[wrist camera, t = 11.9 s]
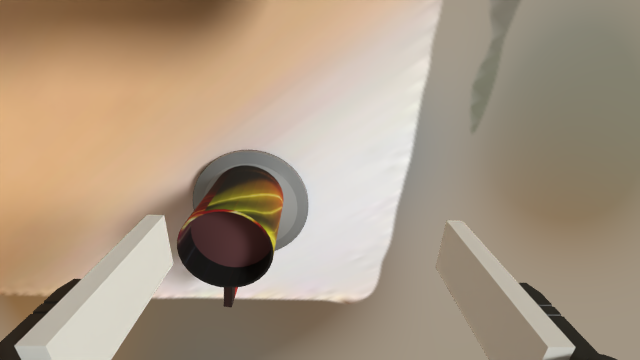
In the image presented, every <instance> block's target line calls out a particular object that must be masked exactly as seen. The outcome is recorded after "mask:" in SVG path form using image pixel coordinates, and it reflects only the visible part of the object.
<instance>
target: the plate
mask: <svg viewBox="0 0 640 360" xmlns="http://www.w3.org/2000/svg"><path fill="white" fill-rule="evenodd" d="M241 165H250V166H256V167H259V168H261V169H264V170H265V171H267V172H269V173H270V174H271V175H272V176H274V177H275V179H276V180H277V181H278V182H279V184H280V186H281V188H282V192H283V199H284V201H283V207H282V212H281V218H280V223H279V228H278V234H277V239H276V244H275V250H278V249H280V248H282V247H284V246H286V245H287V244H289V243H290V242H292V241H293V240H294V239H295V238H296V237H297V236H298V234H299V233H300V232H301V230H302V228H303V227H304V224H305V222H306V219H307V215H308V196H307V191H306V188H305V185H304V183H303V181H302V179H301V178H300V176H299V175H298V173H297V172H296V171H295V170H294V169H293V168H292V167H291V166H290V165H289V164H288V163H286V162H285V161H283V160H282V159H280V158H278V157H276V156H274V155H272V154H269V153H266V152H262V151H257V150H239V151H234V152H230V153H227V154H225V155H223V156H220V157H219V158H217V159H216V160H214V161H213V162H212V163H211V164H209V165H208V166H207V168H206V169H205V170H204V171H203V172H202V173H201V175H200V176H199V178H198V180H197V182H196V185H195V188H194V192H193V207H194V210H195V209H196V208H197V206H198V205H199V203H200V202H201V201H202V199H203V198H204V197H205V195H206V194H207V193H208V191H209V190H210V189H211V187H212V186H213V185H214V183H215V182H216V181H217V179H218V178H219V177H220V176H221V175H222V173H224V172H225V171H227V170H228V169H231V168H233V167H236V166H241ZM275 250H274V251H275Z"/></svg>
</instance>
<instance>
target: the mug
mask: <svg viewBox="0 0 640 360" xmlns="http://www.w3.org/2000/svg"><path fill="white" fill-rule="evenodd" d="M283 201H284V199H283V192H282V188H281V186H280V184H279V182H278V181H277V180H276V179H275V177H274V176H272V175H271V174H270V173H269V172H267V171H265V170H264V169H261V168H259V167H256V166H250V165H241V166H236V167H233V168H231V169H228V170H227V171H225V172H224V173H222V175H221V176H220V177H219V178H218V179H217V181H216V182H215V183H214V185H213V186H212V187H211V189H210V190H209V191H208V193H207V194H206V195H205V197H204V198H203V199H202V201H201V202H200V203H199V205H198V206H197V208H196V209H195V210H194V212H193V213H192V214H191V216H190V217H189V218H188V220H187V221H186V222H185V224H184V225H183V227H182V228H181V230H180V232H179V235H178V239H177V250H178V254H179V257H180V259H181V261H182V263H183V265H184V266H185V267H186V268H187V270H188V271H189V272H190V273H192V274H193V275H194V276H195V277H197V278H198V279H200V280H201V281H203V282H206V283H208V284H210V285H214V286H218V287H224V306H226V307H232V304H233V301H234V298H235V295H236V292H237V289H238V287H242V286H246V285H249V284H251V283H254V282H255V281H257V280H259V279H260V278H261V277H262V276H263V275H264V274H265V273H266V272H267V271H268V269H269V268H270V265H271V263H272V260H273V255H274V250H275V244H276V239H277V234H278V228H279V223H280V218H281V212H282V207H283Z"/></svg>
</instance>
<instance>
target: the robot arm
mask: <svg viewBox="0 0 640 360" xmlns="http://www.w3.org/2000/svg"><path fill="white" fill-rule="evenodd" d="M172 265H173V259H172V254H171V248H170V243H169V238H168V233H167V227H166V222H165V217H164V215H146V216H145V217H144V218H143V219H142V220H141V221H140V222H139V223H138V224H137V225H136V226H135V227H134V228H133V229H132V230H131V231H130V232H129V233H128V234H127V235H126V236H125V237H124V238H123V239H122V240H121V241H120V242H119V243H118V244H117V245H116V246H115V247H114V248H113V249H112V250H111V251H110V252H109V253H108V254H107V255H106V256H105V257H104V258H103V259H102V260H101V261H100V262H99V263H98V264H97V265H96V266H95V267H94V268H93V269H92V270H91V271H90V272H89V273H87V274H86V275H85V276H84V277H83V278H82V279H73V280H72V281H70V282H68V283H67V284H65V285H63V286H62V287H60V288H58V289H57V290H56V291H55V292H54V293H53V294H51V295H50V296H49V297H48V298H47V299H46V300H45V301H44V303H43V304H41V305H40V306H39V307H37V309H35V310H34V311H33V314H30V315H29V316H28V317H27V318H26V319H25V320H24V321H23V322H21V323H20V324H19V325H18V326H17V327H16V328H15V329H14V330H13V331H12V332H11V333H10V334H8V336H6V337H5V338H4V339H3V340H2V341H1V342H0V360H111V359H112V357H113V356H114V354H115V353H116V351H117V350H118V348H119V347H120V345H121V344H122V342H123V341H124V339H125V337H126V336H127V334H128V333H129V331H130V330H131V328H132V327H133V325H134V324H135V322H136V321H137V319H138V318H139V316H140V314H141V313H142V311H143V310H144V308H145V307H146V305H147V304H148V302H149V301H150V299H151V298H152V296H153V295H154V293H155V291H156V290H157V288H158V287H159V285H160V284H161V282H162V281H163V279H164V278H165V276H166V275H167V273H168V272H169V270H170V268H171V267H172ZM436 269H437V271H438V272H439V274H440V276H441V278H442V279H443V281H444V283H445V284H446V286H447V288H448V289H449V291H450V293H451V295H452V297H453V298H454V300H455V302H456V303H457V305H458V307H459V309H460V310H461V312H462V314H463V316H464V317H465V319H466V321H467V323H468V324H469V326H470V328H471V329H472V331H473V333H474V335H475V336H476V338H477V340H478V342H479V343H480V345H481V347H482V349H483V350H484V352H485V354H486V356H487V357H488V359H489V360H617V359H615V358H612V357H609V356H606V355H601V354H598V353H597V351H596V350H595V349H594V348H593V347H592V346H591V345H590V344H589V343H588V342H587V341H586V340H585V339H584V338H583V337H582V336H581V335H580V334H579V333H578V332H577V331H576V330H575V328H573V326H572V325H571V324H570V323H569V322H568V321H567V320H566V319H565V318H564V317H562V316H561V314H560V313H559V312H558V311H557V309H555V307H552V305H551V303H550V302H549V301H548V300H547V299H546V298H545V297H544V296H543V295H542V294H541V293H540V292H539V291H537V290H536V289H534V288H533V287H531V286H530V285H528V284H527V283H518V282H517V281H516V280H515V279H514V278H513V277H512V276H511V274H510V273H509V272H508V271H507V270H506V269H505V268H504V267H503V265H502V264H501V263H500V262H499V261H498V260H497V259H496V258H495V257H494V255H493V254H492V253H491V252H490V251H489V250H488V249H487V248H486V247H485V245H484V244H483V243H482V242H481V241H480V240H479V239H478V238H477V236H475V234H474V233H473V232H472V231H471V230H470V229H469V228H468V226H467V225H466V224H465V223H464V222H463V221H454V220H452V221H451V220H447V221H446V225H445V229H444V234H443V238H442V242H441V246H440V250H439V255H438V259H437V263H436Z"/></svg>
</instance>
